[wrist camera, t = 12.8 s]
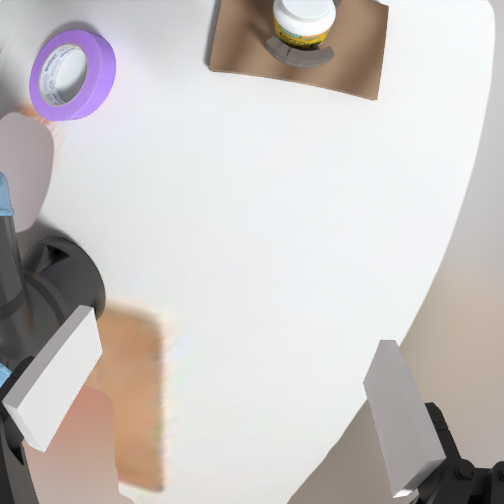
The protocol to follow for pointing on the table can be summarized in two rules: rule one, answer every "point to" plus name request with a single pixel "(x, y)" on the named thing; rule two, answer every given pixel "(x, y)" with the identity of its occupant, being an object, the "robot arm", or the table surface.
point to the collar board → (304, 62)
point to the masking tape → (95, 82)
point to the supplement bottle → (303, 22)
